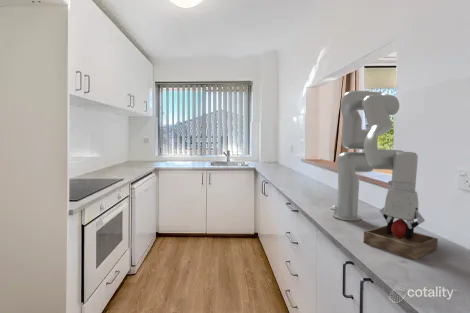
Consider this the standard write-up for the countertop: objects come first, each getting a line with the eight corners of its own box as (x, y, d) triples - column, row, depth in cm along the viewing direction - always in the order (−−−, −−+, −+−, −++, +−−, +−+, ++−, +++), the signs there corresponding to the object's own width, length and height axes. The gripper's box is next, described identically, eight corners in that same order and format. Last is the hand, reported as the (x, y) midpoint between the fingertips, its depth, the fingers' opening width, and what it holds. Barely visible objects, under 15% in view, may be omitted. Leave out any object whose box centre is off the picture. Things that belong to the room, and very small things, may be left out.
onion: (390, 235, 115) (392, 214, 114) (408, 238, 112) (410, 216, 111) (389, 239, 110) (391, 217, 109) (408, 243, 107) (409, 220, 106)
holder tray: (363, 242, 114) (364, 231, 113) (386, 235, 123) (387, 225, 122) (414, 259, 99) (415, 246, 98) (436, 250, 108) (437, 238, 108)
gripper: (374, 183, 114) (371, 230, 116) (424, 191, 100) (419, 245, 101) (385, 182, 118) (382, 227, 120) (434, 189, 104) (430, 241, 106)
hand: (399, 235), depth 111 cm, fingers closed on onion, 5 cm apart
